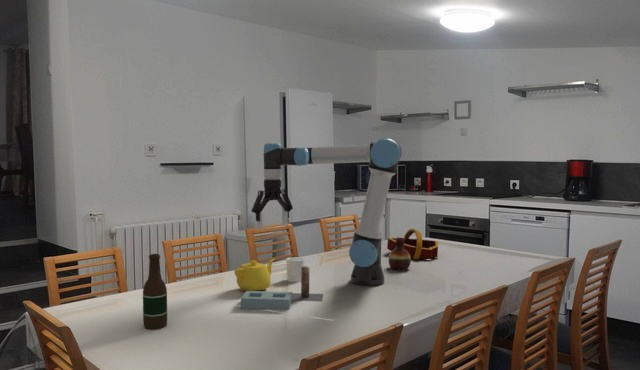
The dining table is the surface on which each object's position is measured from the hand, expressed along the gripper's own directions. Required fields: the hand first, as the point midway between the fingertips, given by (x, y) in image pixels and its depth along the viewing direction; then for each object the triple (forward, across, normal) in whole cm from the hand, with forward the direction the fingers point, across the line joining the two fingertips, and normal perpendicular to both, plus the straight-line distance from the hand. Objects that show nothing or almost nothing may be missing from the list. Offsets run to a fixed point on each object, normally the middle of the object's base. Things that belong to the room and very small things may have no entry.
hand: (272, 227), depth 223 cm
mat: (+25, +3, +26) cm, 36 cm away
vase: (+26, -66, +16) cm, 73 cm away
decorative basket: (+26, -98, -3) cm, 102 cm away
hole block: (+25, +20, +25) cm, 41 cm away
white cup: (+25, -10, +3) cm, 27 cm away
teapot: (+25, +12, +4) cm, 28 cm away
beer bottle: (+25, +62, +21) cm, 70 cm away
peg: (+25, +3, +26) cm, 36 cm away
